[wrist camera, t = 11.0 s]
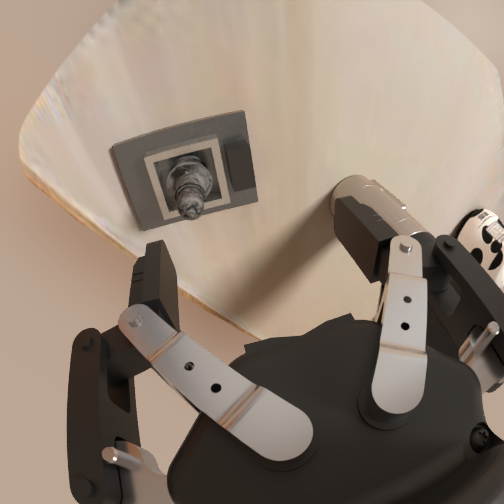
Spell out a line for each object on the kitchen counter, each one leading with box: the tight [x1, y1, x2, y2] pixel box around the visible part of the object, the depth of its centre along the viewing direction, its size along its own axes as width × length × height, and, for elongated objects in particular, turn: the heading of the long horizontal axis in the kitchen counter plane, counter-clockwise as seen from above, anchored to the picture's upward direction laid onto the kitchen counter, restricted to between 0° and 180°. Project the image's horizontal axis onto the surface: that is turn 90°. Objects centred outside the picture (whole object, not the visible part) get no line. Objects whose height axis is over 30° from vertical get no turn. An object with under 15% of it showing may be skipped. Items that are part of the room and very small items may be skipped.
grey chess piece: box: [166, 156, 212, 220], centre depth 33 cm, size 6×6×12 cm
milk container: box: [457, 209, 504, 289], centre depth 56 cm, size 17×17×18 cm
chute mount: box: [112, 110, 258, 231], centre depth 37 cm, size 18×14×4 cm
